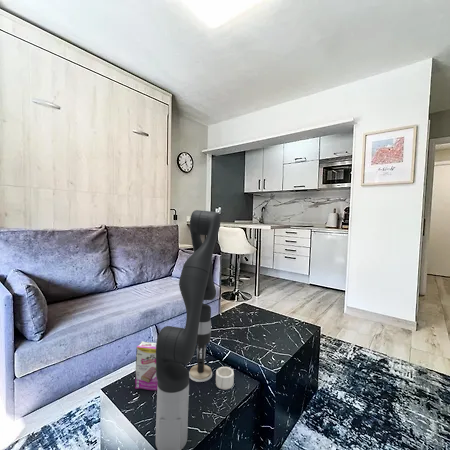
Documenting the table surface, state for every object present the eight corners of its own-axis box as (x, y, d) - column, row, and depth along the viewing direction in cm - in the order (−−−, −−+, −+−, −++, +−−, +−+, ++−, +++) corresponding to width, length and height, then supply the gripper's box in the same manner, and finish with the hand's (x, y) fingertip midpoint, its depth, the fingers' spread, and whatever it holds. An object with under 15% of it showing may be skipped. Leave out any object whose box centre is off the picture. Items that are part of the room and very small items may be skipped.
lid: (211, 379, 101) (211, 367, 101) (189, 378, 101) (189, 367, 101) (211, 366, 110) (211, 355, 110) (190, 366, 110) (191, 355, 110)
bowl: (234, 389, 97) (234, 377, 97) (216, 390, 96) (216, 378, 96) (232, 377, 104) (232, 366, 104) (215, 378, 103) (215, 367, 103)
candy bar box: (134, 389, 95) (135, 346, 94) (139, 381, 100) (141, 340, 99) (162, 392, 93) (163, 349, 93) (166, 384, 98) (168, 343, 98)
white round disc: (212, 382, 101) (212, 381, 101) (187, 381, 100) (187, 380, 100) (212, 367, 111) (212, 366, 111) (189, 367, 110) (189, 366, 110)
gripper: (210, 337, 99) (209, 380, 99) (211, 323, 113) (209, 360, 113) (191, 337, 98) (190, 380, 98) (194, 322, 112) (193, 360, 113)
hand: (200, 369), depth 106 cm, fingers closed on lid, 3 cm apart
